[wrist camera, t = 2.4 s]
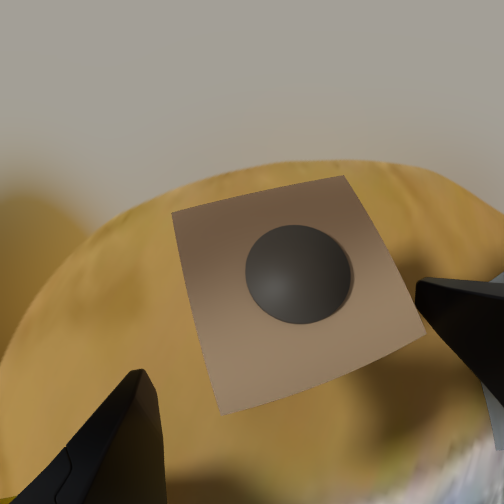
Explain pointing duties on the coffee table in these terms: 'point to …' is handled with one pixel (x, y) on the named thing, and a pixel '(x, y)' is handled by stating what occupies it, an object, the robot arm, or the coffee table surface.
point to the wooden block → (290, 290)
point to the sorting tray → (496, 402)
